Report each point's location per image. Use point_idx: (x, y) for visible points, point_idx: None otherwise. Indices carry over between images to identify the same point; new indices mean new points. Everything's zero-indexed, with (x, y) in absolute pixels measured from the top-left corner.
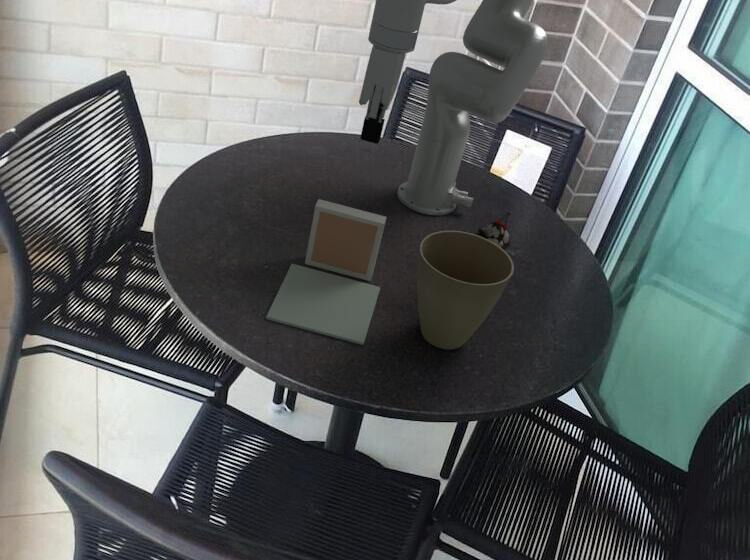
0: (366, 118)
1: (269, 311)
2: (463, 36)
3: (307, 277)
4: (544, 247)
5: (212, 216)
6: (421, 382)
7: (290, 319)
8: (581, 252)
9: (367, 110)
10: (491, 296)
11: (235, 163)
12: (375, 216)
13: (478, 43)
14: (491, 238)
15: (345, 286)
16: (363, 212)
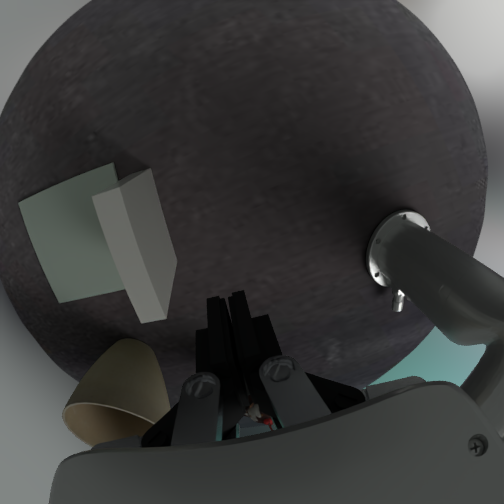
0: (184, 386)
1: (24, 200)
2: None
3: None
4: (355, 370)
5: (161, 11)
6: (68, 352)
7: (30, 226)
8: (360, 388)
9: (175, 425)
10: (107, 438)
11: None
12: (151, 303)
13: None
14: (246, 411)
15: None
16: (144, 282)
